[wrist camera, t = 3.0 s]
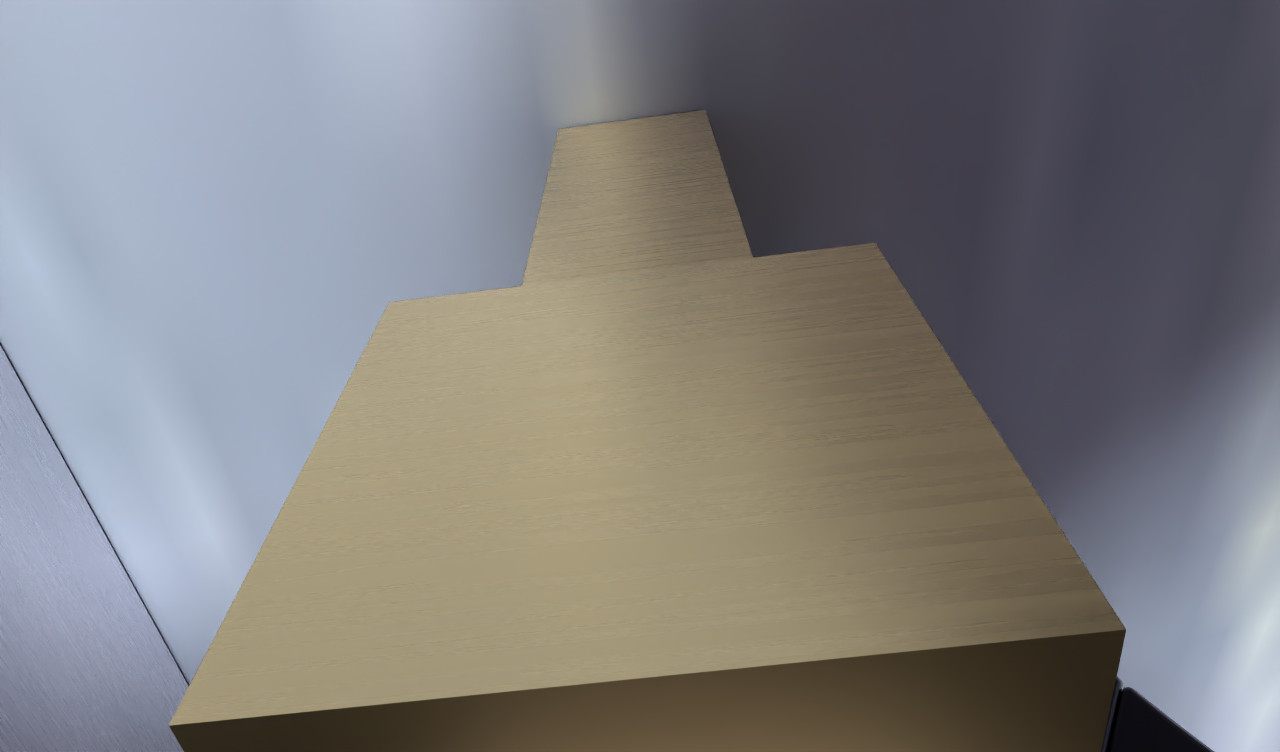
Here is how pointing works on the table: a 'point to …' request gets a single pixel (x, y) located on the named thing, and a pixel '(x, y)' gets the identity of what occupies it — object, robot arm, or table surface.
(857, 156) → the table surface
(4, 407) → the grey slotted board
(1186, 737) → the robot arm
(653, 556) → the tan pronged block
